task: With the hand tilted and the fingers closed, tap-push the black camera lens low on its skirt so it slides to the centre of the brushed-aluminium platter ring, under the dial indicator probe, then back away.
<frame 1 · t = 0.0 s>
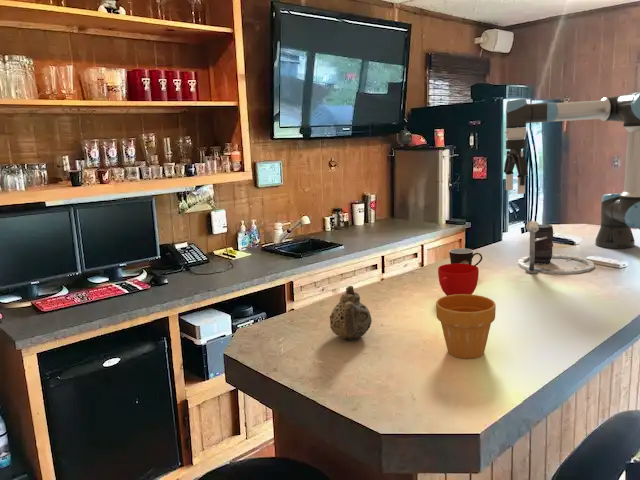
hand: (515, 191, 215), 28 cm above the counter, tool pointing down, fingers open, 13 cm apart
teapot: (351, 339, 146), on the counter
turntable: (555, 264, 207), on the counter
flower pot: (465, 352, 133), on the counter
ceramic cup: (455, 299, 174), on the counter
coffee mug: (465, 277, 198), on the counter
camera lens: (541, 262, 212), on the counter
dial indicator: (531, 272, 199), on the counter
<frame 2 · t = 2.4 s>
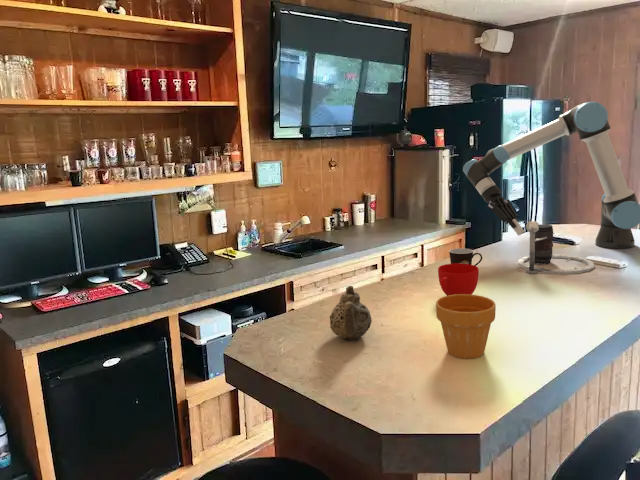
hand: (521, 233, 217), 11 cm above the counter, tool tilted 45°, fingers closed
nothing on the counter moved.
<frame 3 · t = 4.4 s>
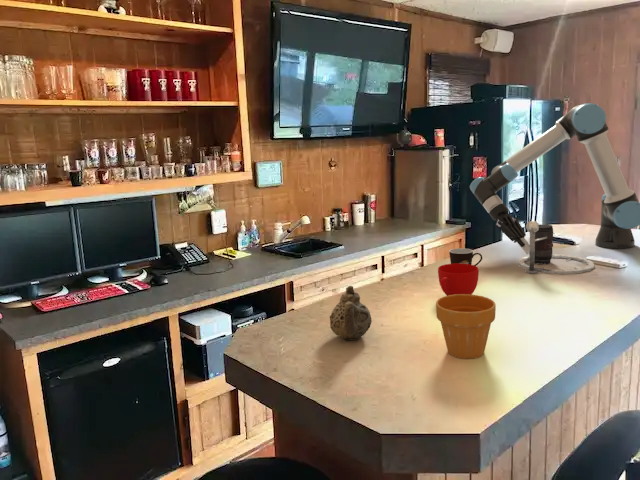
hand: (530, 252, 215), 3 cm above the counter, tool tilted 45°, fingers closed
camera lens: (541, 262, 212), on the counter, touching gripper
everything else where it was.
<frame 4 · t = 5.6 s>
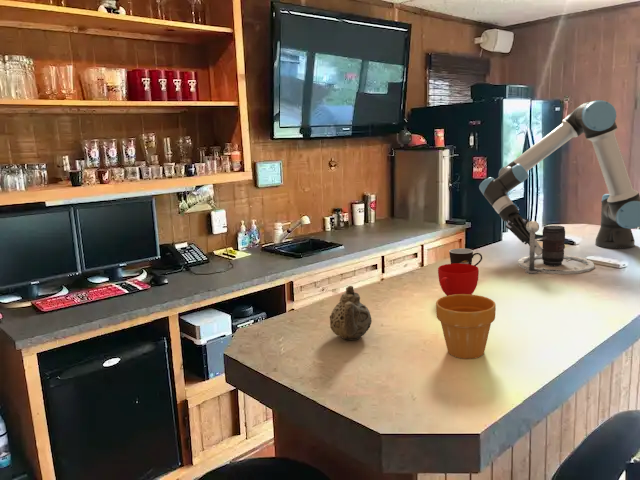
hand: (541, 253, 211), 3 cm above the counter, tool tilted 45°, fingers closed
camera lens: (552, 264, 208), on the counter, touching gripper
everything else where it was.
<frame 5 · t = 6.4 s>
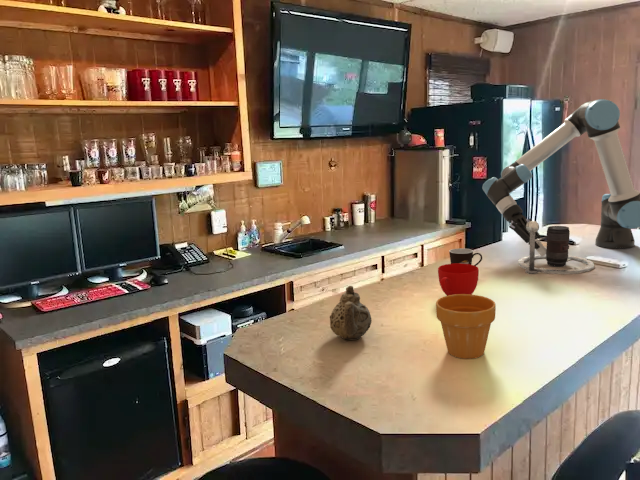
hand: (545, 254, 210), 4 cm above the counter, tool tilted 45°, fingers closed
camera lens: (556, 265, 207), on the counter, touching gripper
everything else where it was.
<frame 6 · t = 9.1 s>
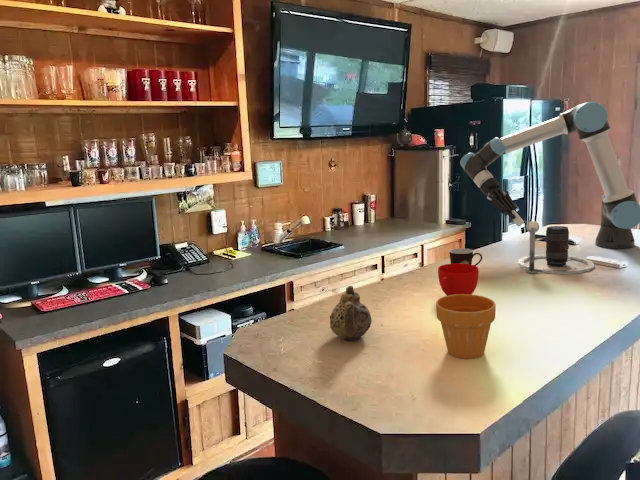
hand: (521, 224, 217), 15 cm above the counter, tool tilted 45°, fingers closed
camera lens: (556, 265, 207), on the counter
everything else where it was.
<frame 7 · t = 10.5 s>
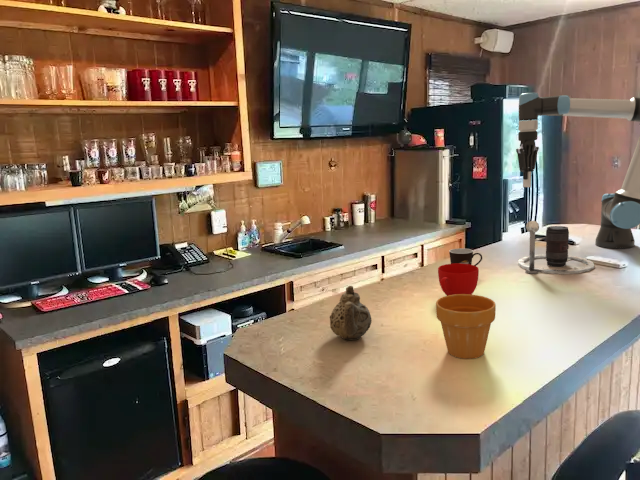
hand: (526, 186, 226), 28 cm above the counter, tool pointing down, fingers closed
nothing on the counter moved.
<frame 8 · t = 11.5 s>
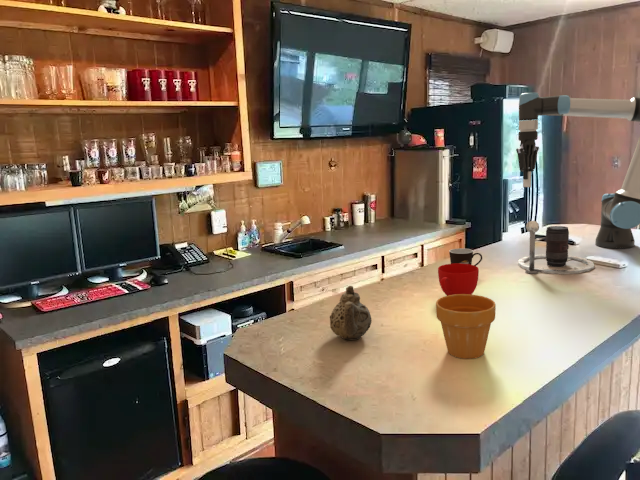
hand: (526, 186, 226), 28 cm above the counter, tool pointing down, fingers closed
nothing on the counter moved.
at the end: camera lens 0.4 cm from the turntable (horizontally); camera lens tilted 0°; camera lens touching counter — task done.
